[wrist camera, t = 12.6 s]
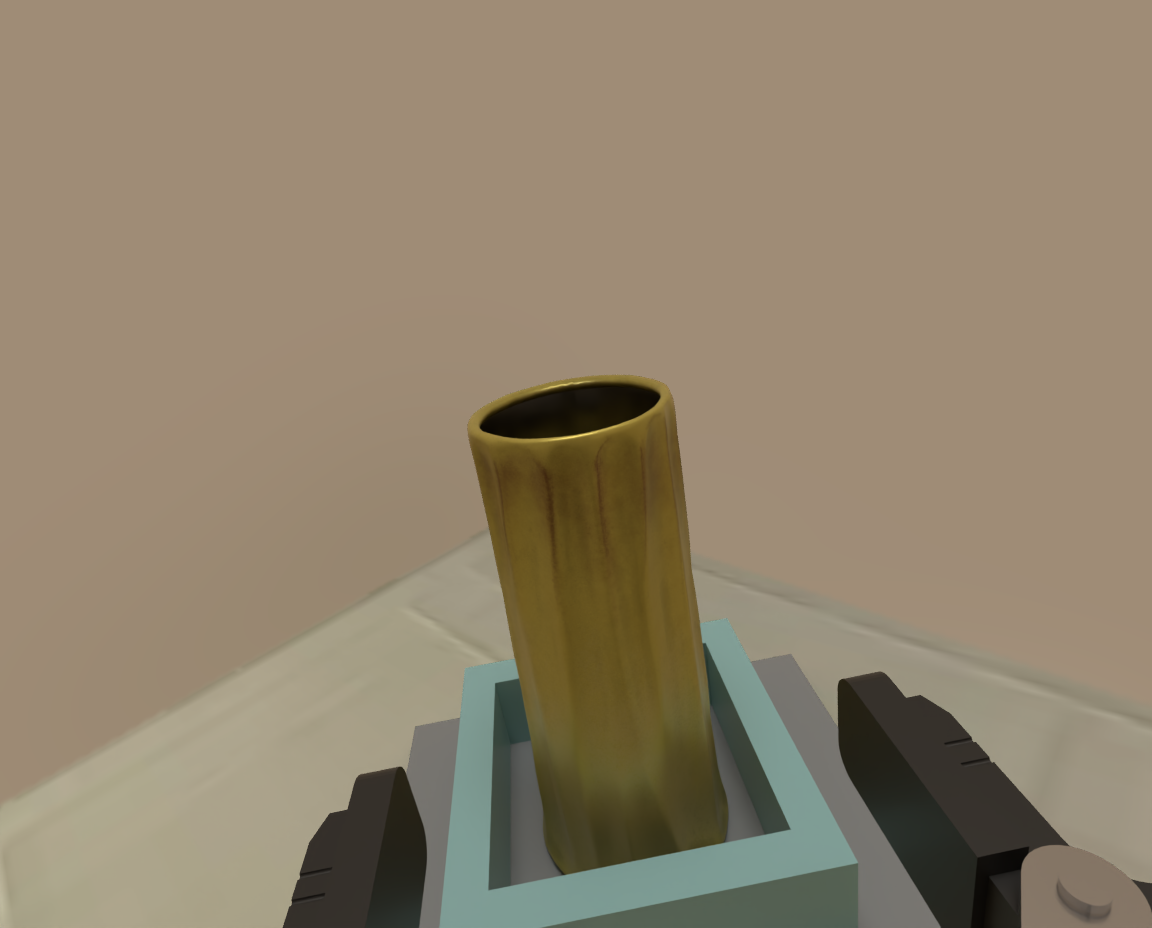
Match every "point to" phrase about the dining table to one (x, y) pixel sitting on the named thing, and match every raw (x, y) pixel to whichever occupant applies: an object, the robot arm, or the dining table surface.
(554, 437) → the vase
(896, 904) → the dock
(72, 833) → the dining table surface
